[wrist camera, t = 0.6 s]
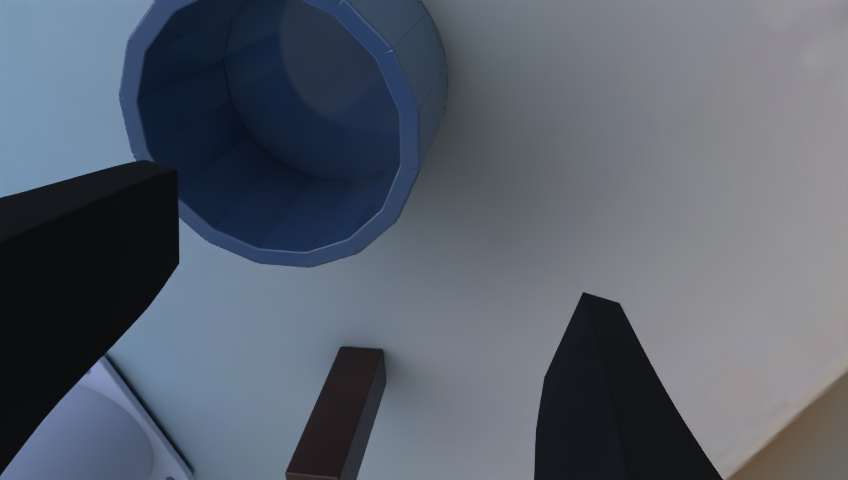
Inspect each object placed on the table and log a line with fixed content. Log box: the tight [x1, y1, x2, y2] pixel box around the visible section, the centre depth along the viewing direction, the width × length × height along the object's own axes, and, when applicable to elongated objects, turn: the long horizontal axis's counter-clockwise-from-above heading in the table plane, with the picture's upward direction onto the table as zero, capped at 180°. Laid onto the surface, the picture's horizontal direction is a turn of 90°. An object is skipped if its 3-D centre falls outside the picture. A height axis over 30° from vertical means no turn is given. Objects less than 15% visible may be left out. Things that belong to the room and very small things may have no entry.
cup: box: [119, 0, 448, 268], centre depth 18 cm, size 8×8×6 cm
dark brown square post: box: [285, 347, 386, 480], centre depth 23 cm, size 2×2×6 cm
